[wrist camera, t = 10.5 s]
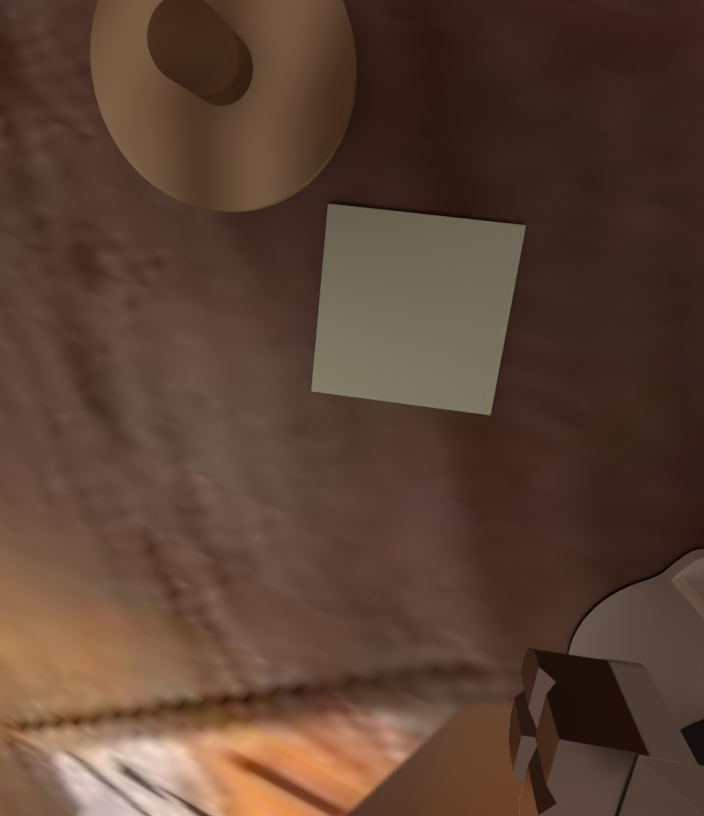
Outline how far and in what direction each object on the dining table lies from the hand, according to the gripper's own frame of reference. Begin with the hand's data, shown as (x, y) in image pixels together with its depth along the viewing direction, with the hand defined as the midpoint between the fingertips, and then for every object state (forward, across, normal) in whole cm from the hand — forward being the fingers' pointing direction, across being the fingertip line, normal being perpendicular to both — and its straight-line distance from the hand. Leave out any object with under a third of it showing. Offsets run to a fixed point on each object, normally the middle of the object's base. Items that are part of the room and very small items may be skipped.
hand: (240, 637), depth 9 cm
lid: (+22, +8, -12) cm, 27 cm away
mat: (+31, -2, -1) cm, 31 cm away
